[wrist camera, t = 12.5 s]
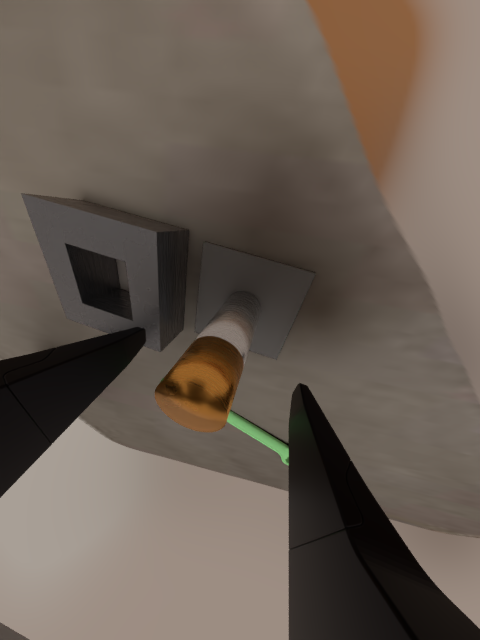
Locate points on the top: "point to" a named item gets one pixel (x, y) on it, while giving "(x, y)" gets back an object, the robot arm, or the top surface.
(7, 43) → the top surface
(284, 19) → the top surface
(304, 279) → the rubber mat
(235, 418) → the wrench
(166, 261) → the block
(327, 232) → the top surface
